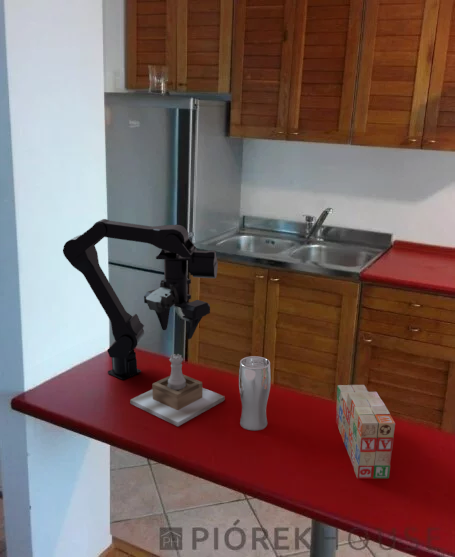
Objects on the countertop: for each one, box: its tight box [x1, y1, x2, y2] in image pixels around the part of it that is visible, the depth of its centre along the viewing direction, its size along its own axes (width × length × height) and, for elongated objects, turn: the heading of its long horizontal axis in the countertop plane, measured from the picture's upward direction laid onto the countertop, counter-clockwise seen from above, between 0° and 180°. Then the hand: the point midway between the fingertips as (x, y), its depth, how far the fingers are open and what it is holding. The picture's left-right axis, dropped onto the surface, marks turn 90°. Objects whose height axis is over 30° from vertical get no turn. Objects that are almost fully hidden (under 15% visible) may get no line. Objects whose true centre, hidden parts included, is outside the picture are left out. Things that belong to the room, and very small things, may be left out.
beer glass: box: [238, 355, 272, 432], centre depth 127 cm, size 7×7×15 cm
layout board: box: [129, 374, 226, 427], centre depth 137 cm, size 16×16×5 cm
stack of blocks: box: [335, 384, 396, 480], centre depth 118 cm, size 21×6×12 cm, turn 1°
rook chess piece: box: [168, 353, 186, 390], centre depth 136 cm, size 4×4×8 cm
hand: (176, 334), depth 148 cm, fingers open, 9 cm apart
